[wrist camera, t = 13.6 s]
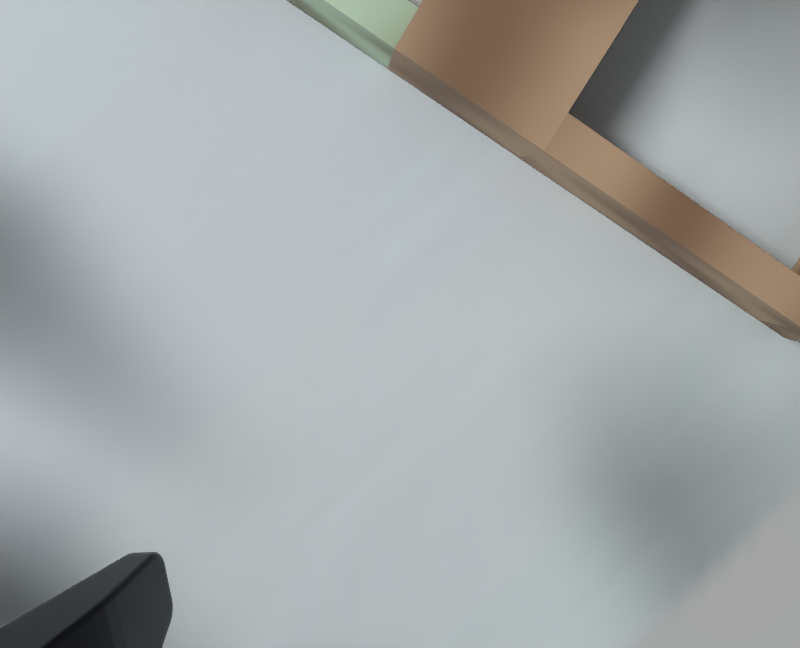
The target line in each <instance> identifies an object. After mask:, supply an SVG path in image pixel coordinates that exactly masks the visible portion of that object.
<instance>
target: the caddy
mask: <svg viewBox="0 0 800 648" xmlns="http://www.w3.org/2000/svg"><path fill="white" fill-rule="evenodd" d="M287 1H289V2H290V3H292V4H293V5H295V6H296V7H297V8H299V9H300V10H302V11H303V12H305V13H306V14H308V15H309V16H311V17H312V18H314V19H315V20H317V21H318V22H320V23H321V24H323V25H324V26H326V27H327V28H328V29H330V30H331V31H333V32H334V33H336V34H337V35H339V36H340V37H342V38H343V39H345V40H346V41H348V42H349V43H351V44H352V45H354V46H355V47H356V48H358V49H359V50H361V51H362V52H364V53H365V54H367V55H368V56H370V57H371V58H373V59H374V60H376V61H377V62H379V63H380V64H382V65H383V66H384V67H386V68H387V69H389V70H390V71H392V72H393V73H395V74H396V75H398V76H399V77H401V78H402V79H404V80H405V81H407V82H408V83H410V84H411V85H413V86H414V87H415V88H417V89H418V90H420V91H421V92H423V93H424V94H426V95H427V96H429V97H430V98H432V99H433V100H435V101H436V102H438V103H439V104H441V105H442V106H443V107H445V108H446V109H448V110H449V111H451V112H452V113H454V114H455V115H457V116H458V117H460V118H461V119H463V120H464V121H466V122H467V123H469V124H470V125H472V126H473V127H474V128H476V129H477V130H479V131H480V132H482V133H483V134H485V135H486V136H488V137H489V138H491V139H492V140H494V141H495V142H497V143H498V144H500V145H501V146H502V147H504V148H505V149H507V150H508V151H510V152H511V153H513V154H514V155H516V156H517V157H519V158H520V159H522V160H523V161H525V162H526V163H528V164H529V165H531V166H532V167H533V168H535V169H536V170H538V171H539V172H541V173H542V174H544V175H545V176H547V177H548V178H550V179H551V180H553V181H554V182H556V183H557V184H559V185H560V186H561V187H563V188H564V189H566V190H567V191H569V192H570V193H572V194H573V195H575V196H576V197H578V198H579V199H581V200H582V201H584V202H585V203H587V204H588V205H590V206H591V207H592V208H594V209H595V210H597V211H598V212H600V213H601V214H603V215H604V216H606V217H607V218H609V219H610V220H612V221H613V222H615V223H616V224H618V225H619V226H620V227H622V228H623V229H625V230H626V231H628V232H629V233H631V234H632V235H634V236H635V237H637V238H638V239H640V240H641V241H643V242H644V243H646V244H647V245H649V246H650V247H651V248H653V249H654V250H656V251H657V252H659V253H660V254H662V255H663V256H665V257H666V258H668V259H669V260H671V261H672V262H674V263H675V264H677V265H678V266H679V267H681V268H682V269H684V270H685V271H687V272H688V273H690V274H691V275H693V276H694V277H696V278H697V279H699V280H700V281H702V282H703V283H705V284H706V285H708V286H709V287H710V288H712V289H713V290H715V291H716V292H718V293H719V294H721V295H722V296H724V297H725V298H727V299H728V300H730V301H731V302H733V303H734V304H736V305H737V306H738V307H740V308H741V309H743V310H744V311H746V312H747V313H749V314H750V315H752V316H753V317H755V318H756V319H758V320H759V321H761V322H762V323H764V324H765V325H767V326H768V327H769V328H771V329H772V330H774V331H775V332H777V333H778V334H780V335H781V336H783V337H785V338H788V339H792V340H795V341H798V342H800V259H799V260H798V262H797V263H796V265H795V266H794V268H793V269H792V270H791V269H789V268H788V267H786V266H785V265H784V264H782V263H781V262H779V261H778V260H776V259H775V258H774V257H772V256H771V255H769V254H768V253H767V252H765V251H764V250H762V249H761V248H759V247H758V246H757V245H755V244H754V243H752V242H751V241H749V240H748V239H747V238H745V237H744V236H742V235H741V234H740V233H738V232H737V231H735V230H734V229H732V228H731V227H730V226H728V225H727V224H725V223H724V222H722V221H721V220H720V219H718V218H717V217H715V216H714V215H713V214H711V213H710V212H708V211H707V210H705V209H704V208H703V207H701V206H700V205H698V204H697V203H696V202H694V201H693V200H691V199H690V198H688V197H687V196H686V195H684V194H683V193H681V192H680V191H678V190H677V189H676V188H674V187H673V186H671V185H670V184H669V183H667V182H666V181H664V180H663V179H661V178H660V177H659V176H657V175H656V174H654V173H653V172H652V171H650V170H649V169H647V168H646V167H644V166H643V165H642V164H640V163H639V162H637V161H636V160H634V159H633V158H632V157H630V156H629V155H627V154H626V153H625V152H623V151H622V150H620V149H619V148H617V147H616V146H615V145H613V144H612V143H610V142H609V141H607V140H606V139H605V138H603V137H602V136H600V135H599V134H598V133H596V132H595V131H593V130H592V129H590V128H589V127H588V126H586V125H585V124H583V123H582V122H581V121H579V120H578V119H576V118H575V117H573V116H572V115H571V114H569V113H568V112H569V110H570V109H571V107H572V105H573V104H574V102H575V101H576V99H577V97H578V96H579V94H580V93H581V91H582V90H583V88H584V86H585V85H586V83H587V82H588V80H589V78H590V77H591V75H592V74H593V72H594V71H595V69H596V67H597V66H598V64H599V63H600V61H601V59H602V58H603V56H604V55H605V53H606V52H607V50H608V48H609V47H610V45H611V44H612V42H613V40H614V39H615V37H616V36H617V34H618V33H619V31H620V29H621V28H622V26H623V25H624V23H625V21H626V20H627V18H628V17H629V15H630V14H631V12H632V10H633V9H634V7H635V6H636V4H637V2H638V1H639V0H423V1H422V3H421V5H420V6H419V7H417V6H416V5H414V4H413V3H412V2H410V1H409V0H287Z"/></svg>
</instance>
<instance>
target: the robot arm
mask: <svg viewBox="0 0 800 648" xmlns="http://www.w3.org/2000/svg"><path fill="white" fill-rule="evenodd" d="M172 610H173V604H172V597H171V593H170V588H169V583H168V578H167V574H166V569H165V564H164V561H163V558H162V556H161V555H160V554H158V553H157V552H142V553H131V554H128V555H126V556H124V557H122V558H121V559H119V560H117V561H116V562H114V563H112V564H110V565H109V566H107V567H105V568H103V569H102V570H100V571H98V572H97V573H95V574H93V575H91V576H90V577H88V578H86V579H84V580H83V581H81V582H79V583H78V584H76V585H74V586H72V587H71V588H69V589H67V590H65V591H64V592H62V593H60V594H59V595H57V596H55V597H53V598H52V599H50V600H48V601H46V602H45V603H43V604H41V605H40V606H38V607H36V608H34V609H33V610H31V611H29V612H27V613H26V614H24V615H22V616H21V617H19V618H17V619H15V620H14V621H12V622H10V623H8V624H7V625H5V626H3V627H2V628H0V648H162V646H163V643H164V640H165V637H166V634H167V631H168V628H169V625H170V622H171V618H172Z"/></svg>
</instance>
